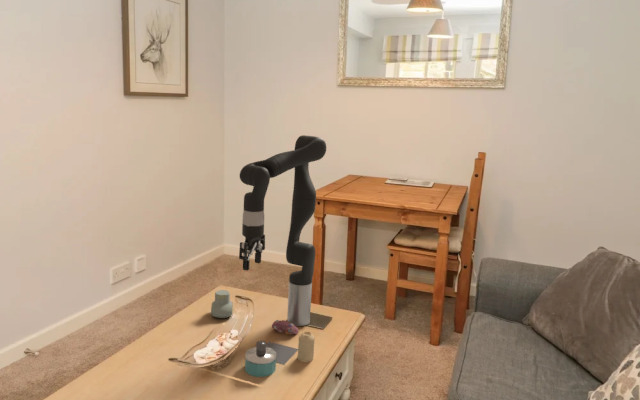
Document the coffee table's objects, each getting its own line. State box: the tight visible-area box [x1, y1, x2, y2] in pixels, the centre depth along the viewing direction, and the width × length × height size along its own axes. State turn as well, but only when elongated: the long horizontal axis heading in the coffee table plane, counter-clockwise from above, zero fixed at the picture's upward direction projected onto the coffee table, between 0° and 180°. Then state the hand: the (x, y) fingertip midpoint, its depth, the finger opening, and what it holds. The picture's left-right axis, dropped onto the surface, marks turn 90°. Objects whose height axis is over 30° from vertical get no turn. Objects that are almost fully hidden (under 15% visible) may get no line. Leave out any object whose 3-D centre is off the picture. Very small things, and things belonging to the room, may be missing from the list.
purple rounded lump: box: [271, 319, 300, 335], centre depth 200 cm, size 10×5×7 cm, turn 69°
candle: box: [297, 331, 315, 363], centre depth 181 cm, size 6×6×10 cm
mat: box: [266, 341, 298, 366], centre depth 185 cm, size 12×12×1 cm
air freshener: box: [210, 289, 234, 319], centre depth 212 cm, size 11×8×10 cm
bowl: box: [244, 357, 277, 378], centre depth 174 cm, size 10×10×5 cm
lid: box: [244, 340, 277, 365], centre depth 173 cm, size 10×10×5 cm
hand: (252, 266), depth 185 cm, fingers open, 8 cm apart
